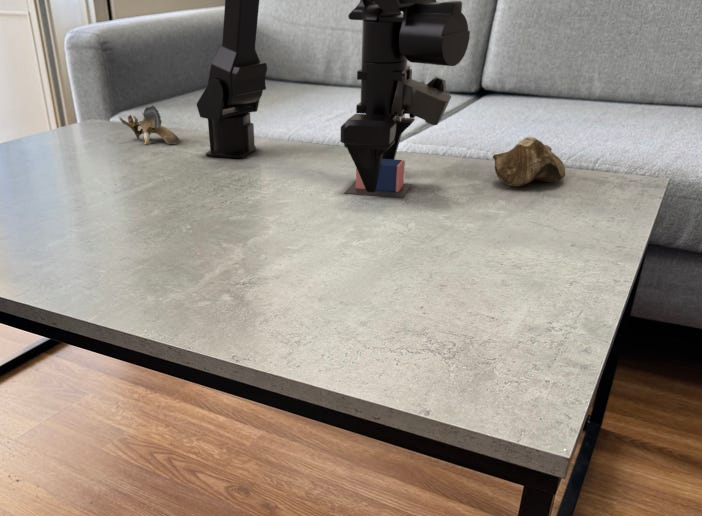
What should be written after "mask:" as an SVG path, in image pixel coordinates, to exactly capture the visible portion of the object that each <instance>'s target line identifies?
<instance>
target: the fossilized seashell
mask: <svg viewBox="0 0 702 516" xmlns="http://www.w3.org/2000/svg"><path fill="white" fill-rule="evenodd" d="M492 158H493V160H494V171H495V174H496V177H498V179H500V181H502V182H503V183H505V184H506V185H508V186H511V187H522V186H525V185H528V184H530V183H531V182H533V181H538V182H549V183H554V182H559V181H561V180H562V179H564V178H565V176H566V166H565V164H564V162H563V161H562V160H561V159H560V158H559V156H558V155H557V154H555V152H553V151H552V147H551V146H549V145H548V144H544V142H542V141H540V140H539V139H538V138H536V137H533V136H527V137H524V138H523V139H521V140H519V141H518V143H516V144H515V145H514V147H513V148H511V149H510V150H508V151H505V152H502V153H495V154H493V155H492Z"/></svg>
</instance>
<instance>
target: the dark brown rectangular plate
mask: <svg viewBox="0 0 702 516" xmlns="http://www.w3.org/2000/svg"><path fill="white" fill-rule="evenodd" d="M411 186H412V184H411V183H403V186H402V188H401V189H400V191H399V192H391V191H378V190H375V192H367V191H366V189H356V179H355V181H353V182H352V183H351V185H350V186H349V187H347V189H346V190H345V191H344V192H343V194H345V195H347V194H348V195H357V196H359V195H360V196H373V197H382V198H383V197H384V198H398V199H403V197H404V196H405V195H406V193H407V192H408V191H409V189H410V187H411Z"/></svg>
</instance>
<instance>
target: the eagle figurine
mask: <svg viewBox="0 0 702 516" xmlns="http://www.w3.org/2000/svg"><path fill="white" fill-rule="evenodd" d="M140 112H141V114H142V116H143V119H142V120H139V119H138V118H137V117H136V116H134V115H133V117H132V115H131V114H130V115H128V117H127V121H126V120H125V119H123V118H122V117H120V116H119V117H118V118H119V120H120V122H121V123H122V124H123V125H126V126H127V127H129V128H130V129H131V130H132V132H133V133H134V135H135V138H136V140H140V137H141V135H143V140H144V145H145V146H146V145H147V144H148V143H149V142H150V136H151V134H157V135H158V136H159V137H161V138H162V140H163V141H165V143H166V144H167V145H169V144H170V145H178V144H179V143H180V138H179V137H178V136H177V135H176V134H175V132H173V131H172V130H170V128H169V129H168V128H167V127H165V126H163V125H162V123H163V122H162V119H161V114H160V112H159V110H158V108H156V106H155V105H151V106H147V107H145V108H144V110H143V109H140ZM139 127H142V128H140V130H139Z"/></svg>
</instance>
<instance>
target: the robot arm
mask: <svg viewBox="0 0 702 516" xmlns="http://www.w3.org/2000/svg"><path fill="white" fill-rule="evenodd" d="M259 9H260V0H224V12H223V13H224V14H223V27H222V43H221V46H220V48H219V50H218V51H217V54H216V55H215V57H214V59H213V60H212V62H211V64H210V68H209V69H210V70H209V75H208V81H207V86H206V87H205V89H204V90H203V92H202V94H201V96H200V97H199V99H198V101H197V102H196V108H197V110H198V111H197V112H198V114H199V117H200V118H201V119H207V126H208V138H209V150H208V151H207V152H205V155H206V157H216V158H228V159H229V158H230V159H231V158H232V159H243V158H244V157H247V156H248V155H249V154H251V153H252V152H254V151H255V150H257V146H256V145H255V127H254V125H255V124H254V123H253V122H251V113H257V112H258V110H259V109H258V108H259V105H260V99H261V98H262V95H263V92H264V91H265V90H267V87H266V76H267V72H268V64H267V63H266V62H264V61H261V59H260V57H259V54H258V52H257V50H256V41H257V31H258V20H259V11H260V10H259ZM462 9H463V1H461V0H449V1H442V2H441V1H437V0H359V3H358V4H357V5H356V6H355V7H354V8H353V9H352V10H351V11H350V13H348V15H347V16H348V19H349V20H350V21H362V33H361V34H362V37H361V68H360V69H358V70H357V71H356V80H357V81H360V102H358V104H356V106H355V108H356V109H355V113H354V114H352V115H351V116H350V117H349V118H348V119H347V120H346V121H345V122H343V124H342V125H341V126H340V143H342V144H343V146H344V148H346V149H347V151H348V154H349V155H350V157H351V159H352V161H353V163H354V166H355V169H356V168H357V170H358V172H359V175H360V177H361V179H362V182H363V184H364V186H365V189H366V191H367V192H375V190H376V186H377V182H378V177H379V172H380V167H381V162H382V159H395V160H396V155H397V152H398V148H399V145H400V141H401V138H402V134H403V133H404V132H405V131H406V130H407V129H408V128H409V127H410V126H411V125H412V124H413V123H414V122H415V120H416V119H415V118H419V119H421V120H424V121H425V123H427V124H428V125H432V126H438V125H439V123H440V121H442V119H443V116H444V115H445V111H446V109H447V107H448V106H449V103H450V101H451V98H452V95H451V92H448V91H447V82H446V81H447V80H445V79H443V78H441V77H438V76H434V78H432V79H431V80H430V81H429V82H428V83H425V81H418V80H415V79H413V78H412V77H413V69H412V68H411V66H410V65H408V62H409V63H413V64H423V65H436V66H446V67H455V66H457V65H459V64H460V63H461V61H462V60H463V58H464V57H465V55H466V53H467V50H468V47H469V43H470V37H471V36H470V34H471V31H470V30H469V23H468V20H467V18H466V16H465V15H464V14H463V13H462V12H463V11H462ZM406 115H408V116H409V117H406Z"/></svg>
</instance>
